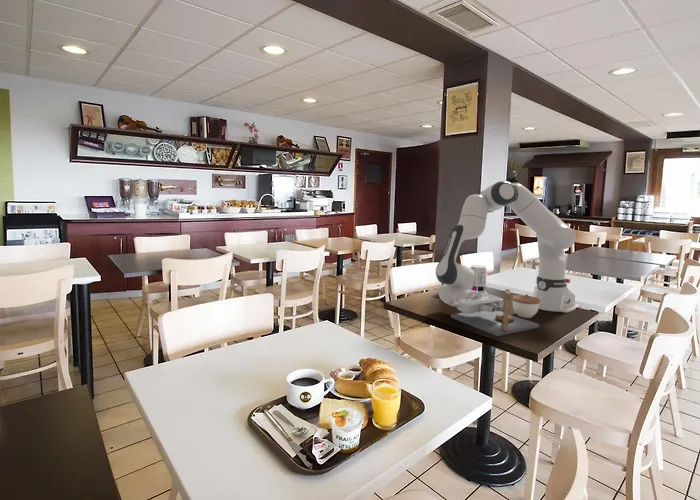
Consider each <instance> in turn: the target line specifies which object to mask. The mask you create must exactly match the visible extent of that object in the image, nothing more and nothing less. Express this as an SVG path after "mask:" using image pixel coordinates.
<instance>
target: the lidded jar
mask: <svg viewBox="0 0 700 500" xmlns="http://www.w3.org/2000/svg"><path fill="white" fill-rule="evenodd" d="M539 303H540V299H538V298H536V297H533V295H529V294H527V293H526V294H524V295H523V294H520V295H519V294H517V295H514V296H513V297H512V308H513V311H514V312H515V314H517V317H519V318H523V319H525V318H526V319H531V318H533V317H534V316H536V314H538V311H539V310H540V309H539Z"/></svg>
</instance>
